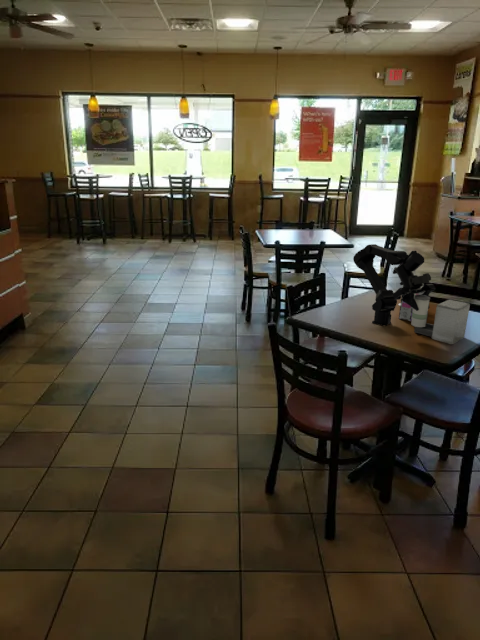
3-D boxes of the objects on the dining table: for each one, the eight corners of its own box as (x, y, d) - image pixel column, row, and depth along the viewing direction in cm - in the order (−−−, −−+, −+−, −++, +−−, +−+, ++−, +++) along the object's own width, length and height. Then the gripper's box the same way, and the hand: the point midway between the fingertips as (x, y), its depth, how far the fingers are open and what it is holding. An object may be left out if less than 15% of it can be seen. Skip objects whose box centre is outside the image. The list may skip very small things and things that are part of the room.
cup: (408, 324, 199) (412, 296, 195) (414, 321, 203) (418, 293, 199) (421, 328, 195) (426, 299, 191) (428, 325, 199) (432, 297, 195)
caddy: (431, 338, 202) (437, 304, 197) (444, 332, 210) (449, 299, 205) (452, 344, 196) (458, 309, 191) (464, 337, 204) (470, 303, 199)
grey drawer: (411, 331, 209) (414, 314, 206) (422, 326, 215) (424, 309, 213) (433, 337, 202) (436, 319, 200) (443, 332, 209) (446, 314, 206)
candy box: (410, 321, 223) (415, 287, 218) (398, 318, 227) (402, 285, 221) (419, 314, 234) (424, 281, 228) (407, 312, 237) (412, 279, 232)
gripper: (401, 268, 191) (418, 302, 185) (435, 265, 199) (453, 297, 193) (385, 283, 200) (401, 315, 194) (418, 279, 208) (434, 310, 202)
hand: (423, 309), depth 196 cm, fingers closed on cup, 6 cm apart
